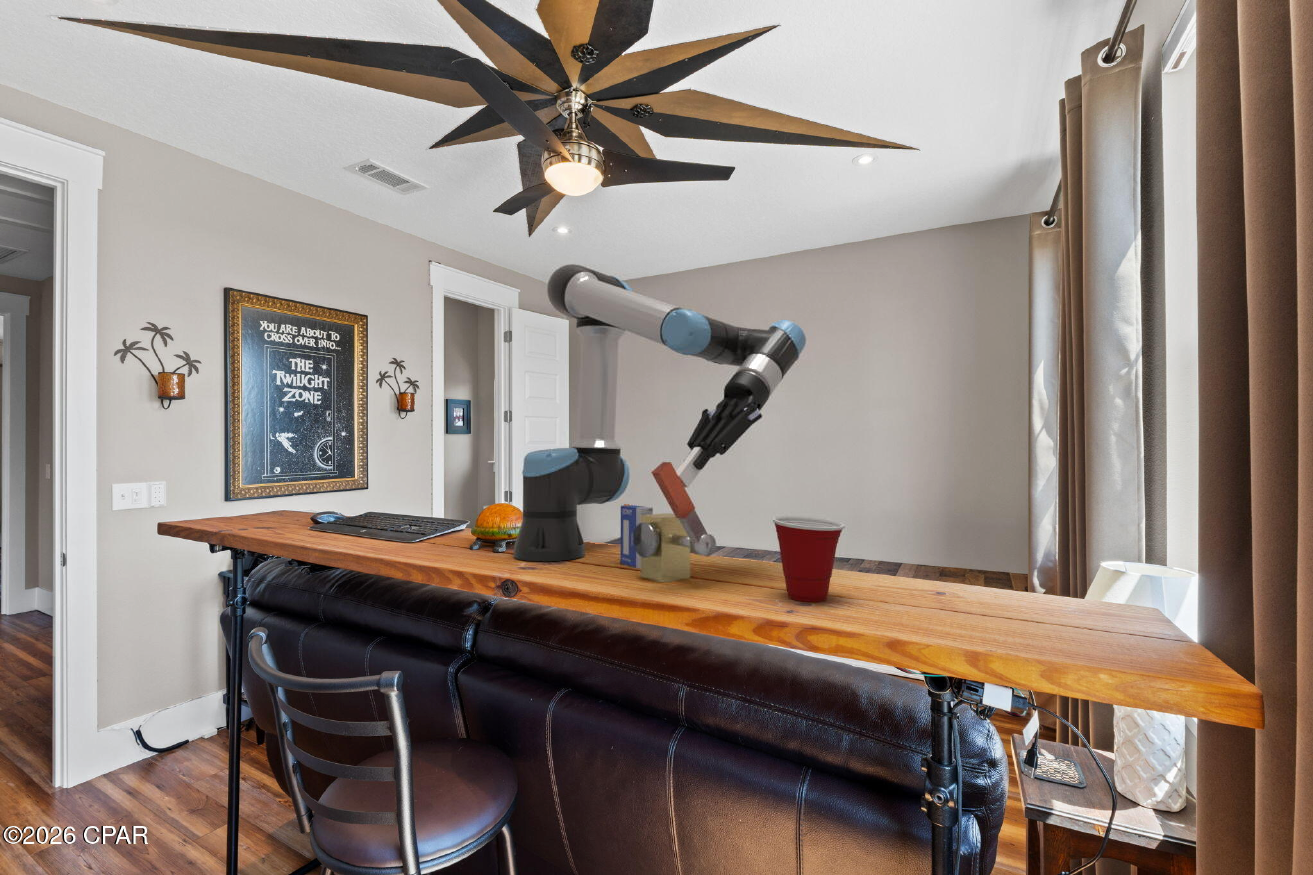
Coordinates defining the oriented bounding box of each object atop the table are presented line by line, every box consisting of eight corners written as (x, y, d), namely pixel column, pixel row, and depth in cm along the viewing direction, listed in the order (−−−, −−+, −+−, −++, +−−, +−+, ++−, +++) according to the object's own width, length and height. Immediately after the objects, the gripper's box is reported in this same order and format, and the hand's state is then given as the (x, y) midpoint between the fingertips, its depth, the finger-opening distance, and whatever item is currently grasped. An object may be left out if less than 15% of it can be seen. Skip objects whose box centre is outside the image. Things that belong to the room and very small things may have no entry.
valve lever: (696, 559, 96) (648, 473, 90) (709, 545, 98) (663, 460, 92) (705, 561, 94) (658, 474, 88) (719, 546, 96) (673, 460, 90)
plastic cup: (825, 611, 80) (824, 524, 81) (758, 598, 87) (758, 518, 88) (858, 597, 88) (857, 518, 89) (794, 586, 95) (794, 513, 96)
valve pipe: (633, 578, 102) (633, 515, 103) (676, 571, 108) (676, 512, 109) (673, 589, 93) (673, 521, 94) (717, 581, 99) (717, 517, 100)
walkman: (620, 563, 117) (620, 503, 117) (631, 561, 119) (631, 503, 119) (641, 569, 111) (641, 506, 111) (653, 567, 112) (653, 505, 113)
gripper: (790, 398, 100) (721, 499, 89) (736, 404, 110) (668, 495, 99) (769, 364, 97) (695, 465, 86) (715, 373, 107) (643, 464, 96)
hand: (680, 481), depth 93 cm, fingers closed
